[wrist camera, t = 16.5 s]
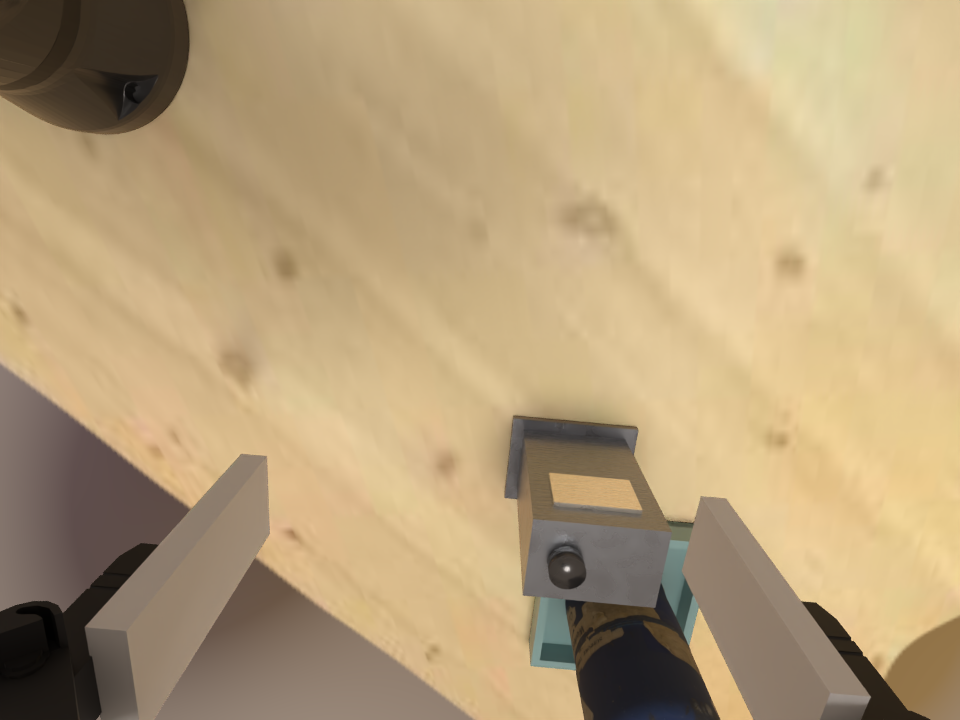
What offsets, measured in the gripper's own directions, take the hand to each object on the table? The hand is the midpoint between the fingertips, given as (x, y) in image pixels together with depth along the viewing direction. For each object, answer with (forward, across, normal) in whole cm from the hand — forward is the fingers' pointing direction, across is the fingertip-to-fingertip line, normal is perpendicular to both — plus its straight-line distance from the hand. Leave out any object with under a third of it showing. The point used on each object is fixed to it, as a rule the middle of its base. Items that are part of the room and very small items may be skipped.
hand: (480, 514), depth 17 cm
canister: (+29, +15, -27) cm, 42 cm away
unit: (+30, +9, -14) cm, 34 cm away
